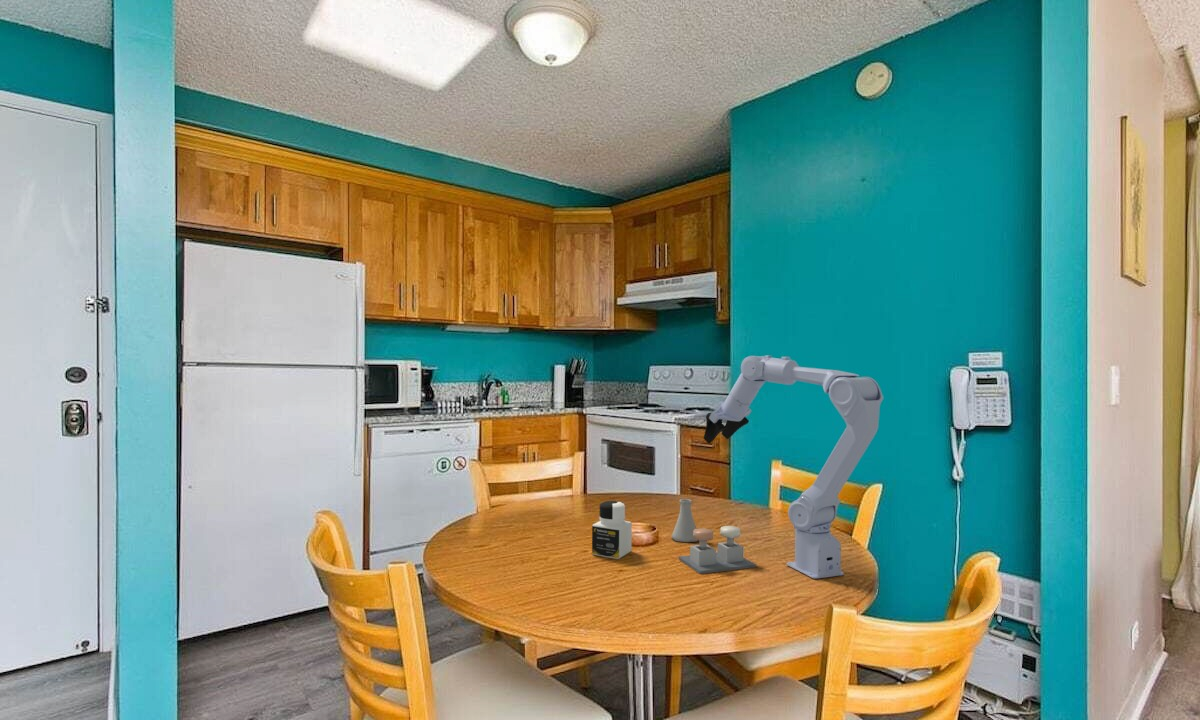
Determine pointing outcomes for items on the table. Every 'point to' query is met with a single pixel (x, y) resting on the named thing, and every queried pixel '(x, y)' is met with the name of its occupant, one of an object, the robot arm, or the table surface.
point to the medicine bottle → (611, 531)
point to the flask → (684, 523)
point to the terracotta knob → (703, 537)
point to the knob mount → (716, 558)
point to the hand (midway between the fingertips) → (716, 438)
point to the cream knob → (730, 534)
